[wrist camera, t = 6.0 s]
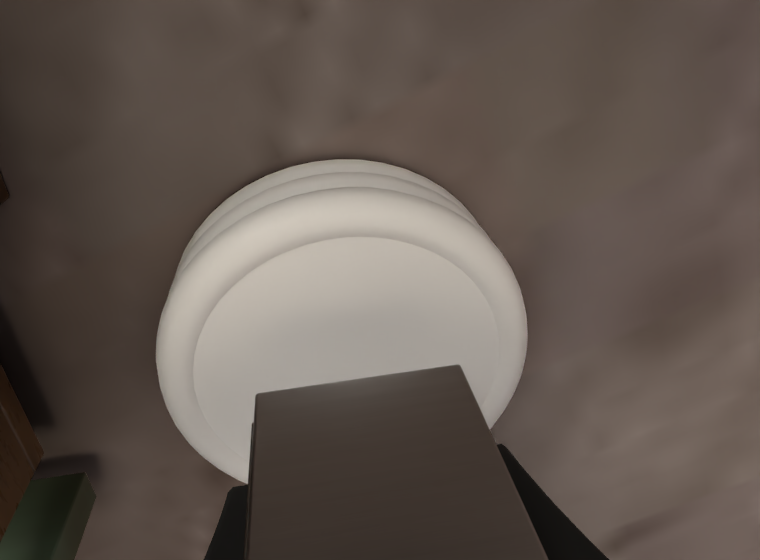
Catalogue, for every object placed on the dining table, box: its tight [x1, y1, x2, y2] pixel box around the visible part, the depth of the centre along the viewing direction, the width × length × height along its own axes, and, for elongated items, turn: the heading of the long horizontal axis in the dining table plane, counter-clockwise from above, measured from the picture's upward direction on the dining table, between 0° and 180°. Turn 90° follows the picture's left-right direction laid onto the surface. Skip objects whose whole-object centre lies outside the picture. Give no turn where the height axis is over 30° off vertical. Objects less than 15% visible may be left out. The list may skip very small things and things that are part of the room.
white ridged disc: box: [156, 159, 528, 484], centre depth 16 cm, size 10×10×4 cm
